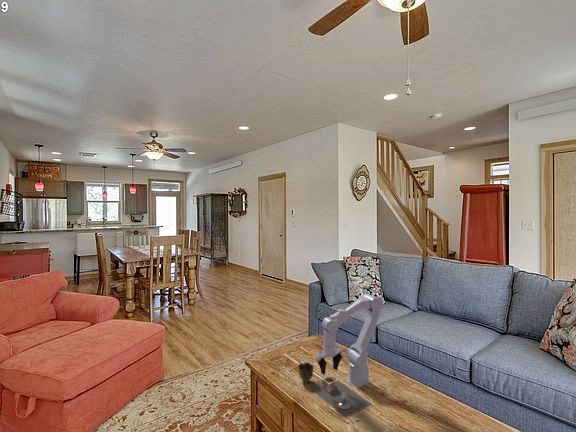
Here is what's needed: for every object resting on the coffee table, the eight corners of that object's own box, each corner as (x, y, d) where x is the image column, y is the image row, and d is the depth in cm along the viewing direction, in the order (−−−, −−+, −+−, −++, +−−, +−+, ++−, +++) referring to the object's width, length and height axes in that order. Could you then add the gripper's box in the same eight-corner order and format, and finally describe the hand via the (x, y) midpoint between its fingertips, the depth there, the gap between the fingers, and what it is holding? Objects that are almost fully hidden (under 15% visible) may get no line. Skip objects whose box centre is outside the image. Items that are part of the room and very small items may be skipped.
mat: (333, 377, 154) (333, 376, 154) (372, 405, 132) (372, 404, 132) (308, 387, 146) (308, 386, 146) (345, 418, 124) (345, 417, 124)
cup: (301, 387, 146) (301, 370, 146) (296, 378, 153) (296, 363, 153) (315, 384, 148) (315, 368, 148) (310, 376, 155) (310, 361, 155)
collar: (330, 383, 148) (330, 375, 148) (337, 389, 144) (337, 380, 144) (321, 387, 145) (321, 378, 145) (328, 392, 141) (328, 384, 141)
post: (343, 398, 137) (343, 385, 137) (354, 406, 131) (354, 393, 131) (332, 403, 133) (332, 390, 133) (342, 412, 127) (342, 398, 127)
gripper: (335, 337, 152) (335, 363, 152) (312, 343, 144) (312, 371, 144) (345, 342, 146) (344, 370, 146) (321, 349, 138) (321, 378, 138)
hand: (329, 371), depth 144 cm, fingers open, 7 cm apart
